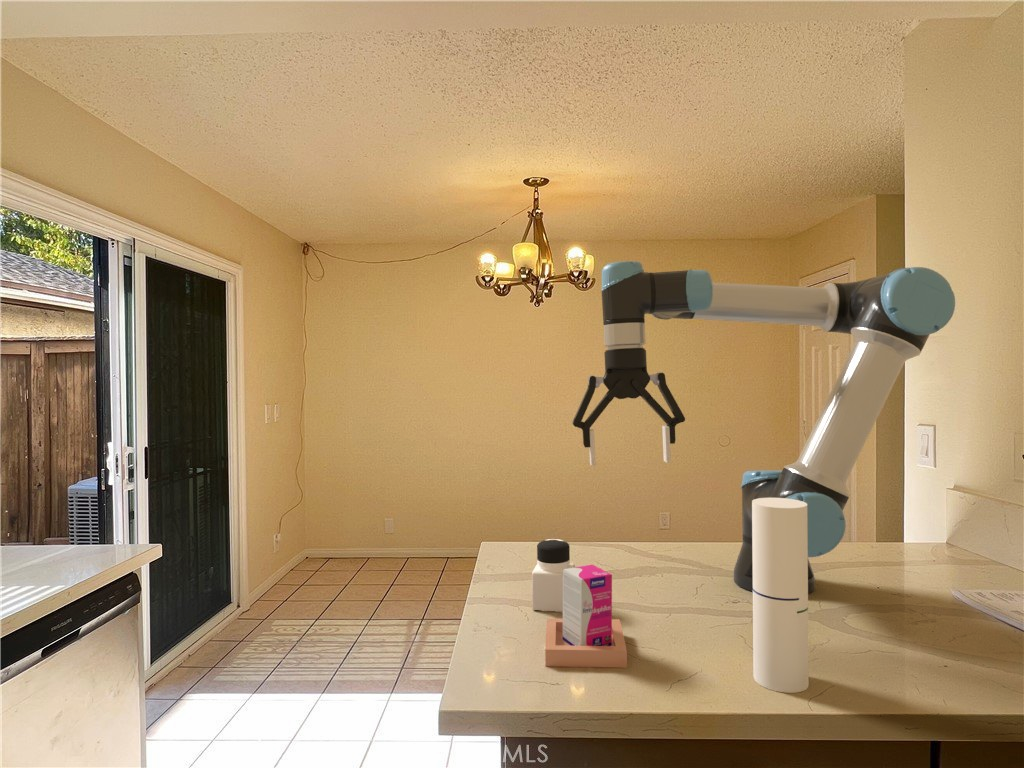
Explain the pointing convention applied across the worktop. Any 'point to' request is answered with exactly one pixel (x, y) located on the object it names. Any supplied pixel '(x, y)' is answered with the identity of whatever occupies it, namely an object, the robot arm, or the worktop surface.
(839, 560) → the worktop surface
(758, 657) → the cylindrical container
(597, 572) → the supplement box
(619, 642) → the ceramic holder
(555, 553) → the medicine bottle
